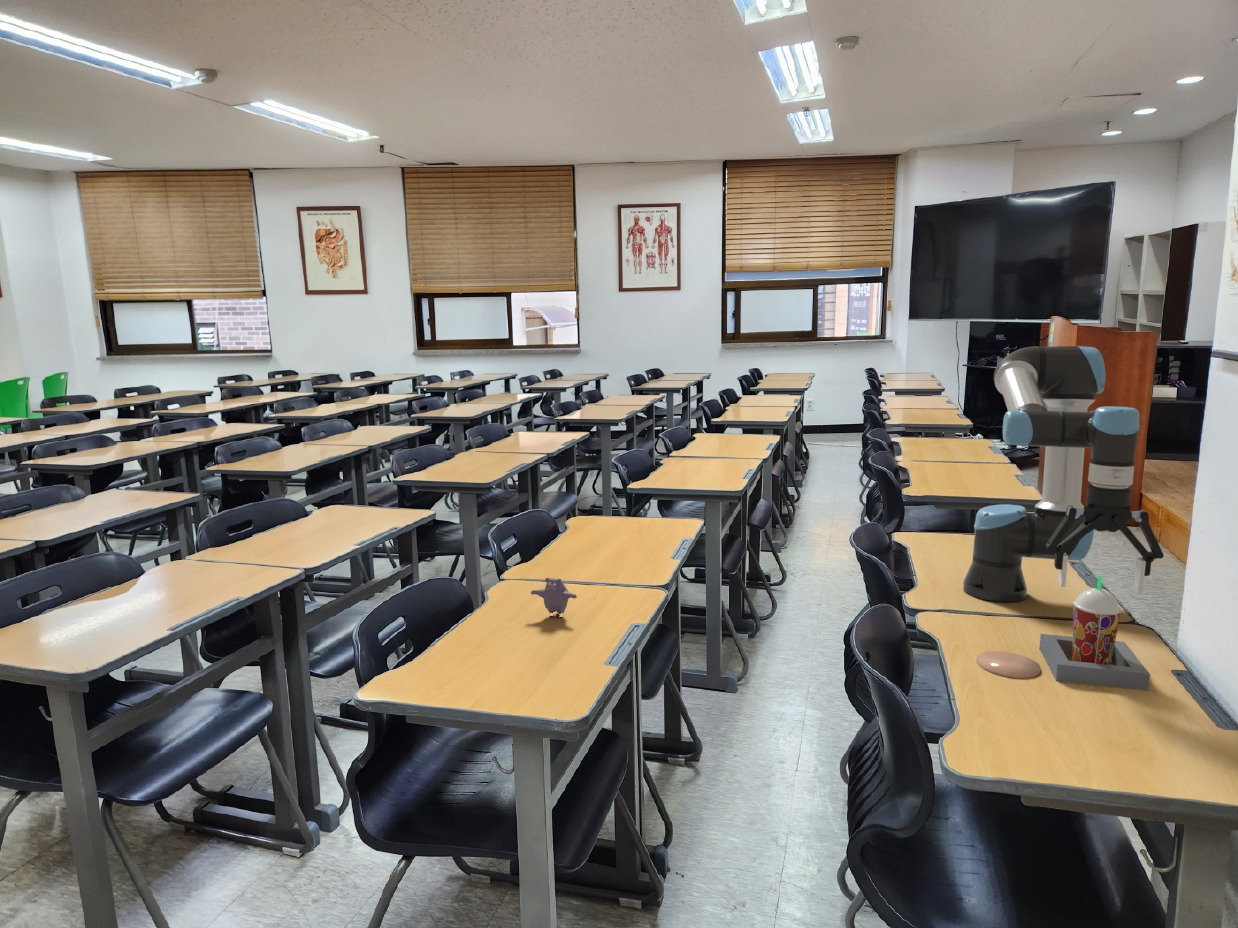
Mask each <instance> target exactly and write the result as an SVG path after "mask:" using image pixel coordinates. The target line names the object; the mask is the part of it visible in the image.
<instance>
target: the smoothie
mask: <svg viewBox="0 0 1238 928" xmlns="http://www.w3.org/2000/svg"><path fill="white" fill-rule="evenodd" d="M1102 578H1103V576H1101V575H1098V576H1097V584H1096V587H1094V588H1093V587H1092V588H1087V589H1086V590H1083V591H1082V592H1080V594H1078V596H1077V597H1076V599H1075V600H1073V603H1072V604H1073V612H1072V614H1073V617H1072V637H1073V647H1072V656H1071V659H1072V660H1071V661H1077V662H1087V663H1096V664H1106V665H1112V661H1111V660H1112V655H1113V650H1114V644H1115V641H1116V637H1117V634H1118V633H1117V632H1118V628H1119V624H1120V623H1119V622H1120V617H1121V613H1122V608H1121V607H1120V605H1119V603H1118V600H1117V598H1116V597H1115V596H1114V595H1113V594H1112V593H1111V592H1109V591H1107V590H1105V589H1103V588H1101V587H1102V581H1103V579H1102Z"/></svg>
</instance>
